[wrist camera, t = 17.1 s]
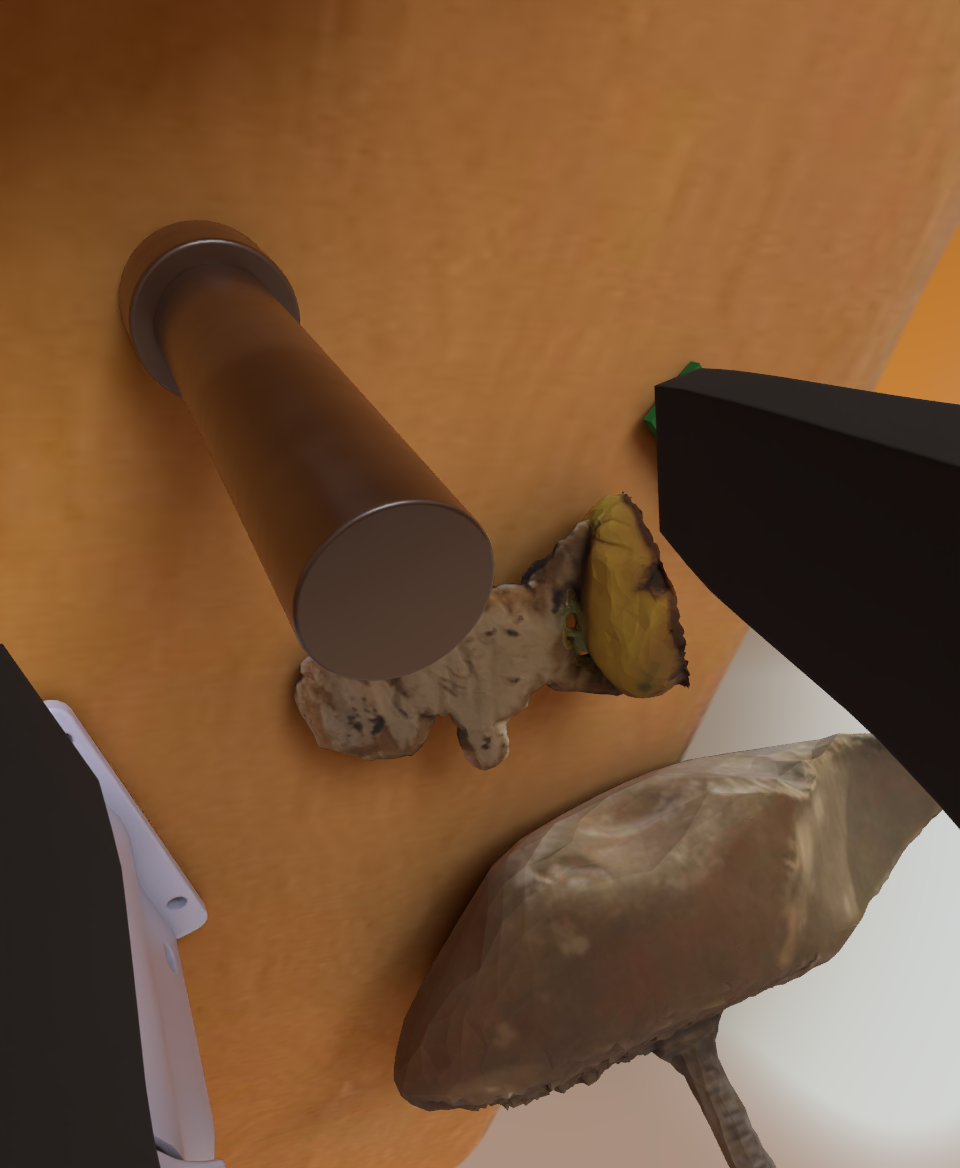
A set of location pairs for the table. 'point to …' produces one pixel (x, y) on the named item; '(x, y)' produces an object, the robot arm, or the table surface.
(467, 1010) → the stone hammer
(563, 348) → the table surface
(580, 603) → the toy
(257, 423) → the dark brown cylinder
